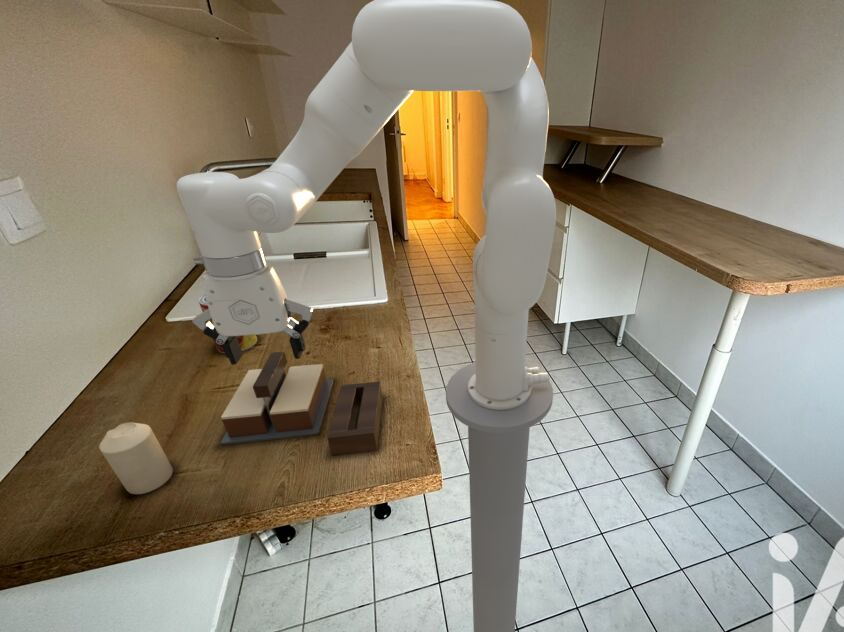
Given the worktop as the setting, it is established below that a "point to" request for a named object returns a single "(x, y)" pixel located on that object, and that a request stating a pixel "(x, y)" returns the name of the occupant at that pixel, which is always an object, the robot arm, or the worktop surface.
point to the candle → (136, 457)
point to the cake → (278, 407)
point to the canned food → (243, 341)
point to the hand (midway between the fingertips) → (269, 357)
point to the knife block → (345, 415)
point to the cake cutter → (271, 380)
